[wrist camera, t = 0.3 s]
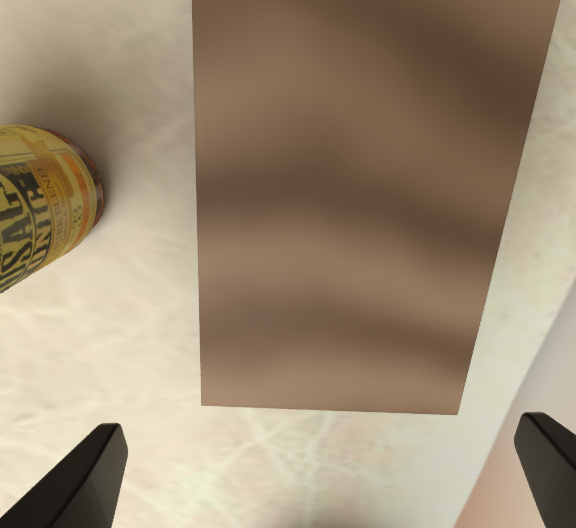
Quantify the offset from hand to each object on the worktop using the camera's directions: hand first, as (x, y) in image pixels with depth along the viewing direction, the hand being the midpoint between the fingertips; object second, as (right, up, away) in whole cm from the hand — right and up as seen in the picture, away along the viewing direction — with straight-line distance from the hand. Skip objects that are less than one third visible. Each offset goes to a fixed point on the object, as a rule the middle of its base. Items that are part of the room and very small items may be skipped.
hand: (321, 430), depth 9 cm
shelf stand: (+2, +7, +12) cm, 14 cm away
